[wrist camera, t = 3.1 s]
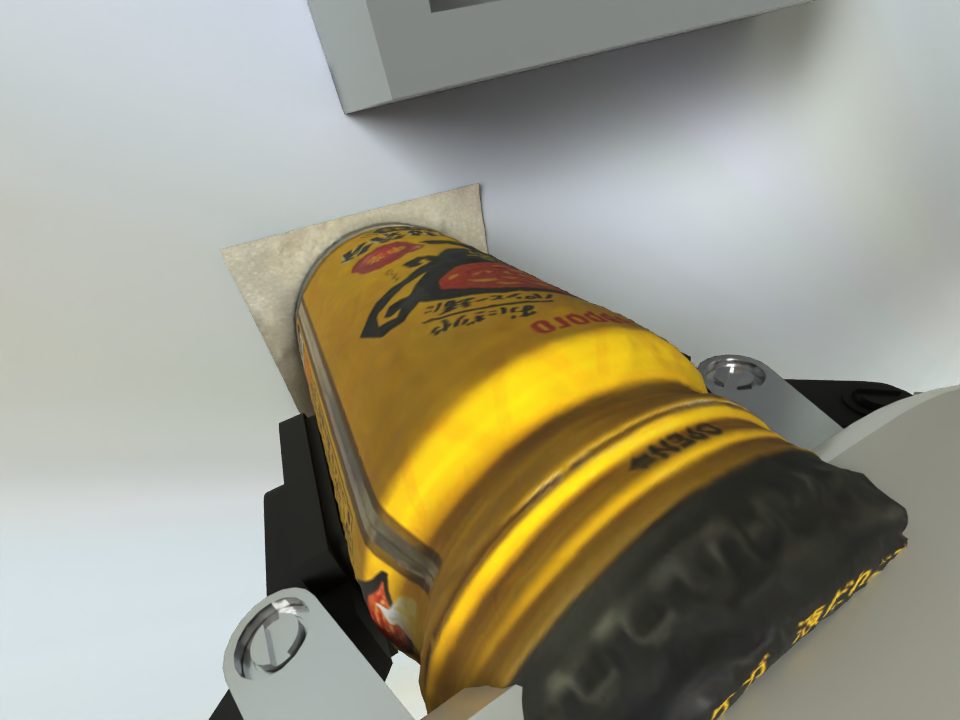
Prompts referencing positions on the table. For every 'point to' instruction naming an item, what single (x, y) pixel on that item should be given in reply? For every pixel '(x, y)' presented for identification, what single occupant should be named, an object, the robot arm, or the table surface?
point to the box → (490, 38)
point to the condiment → (548, 476)
